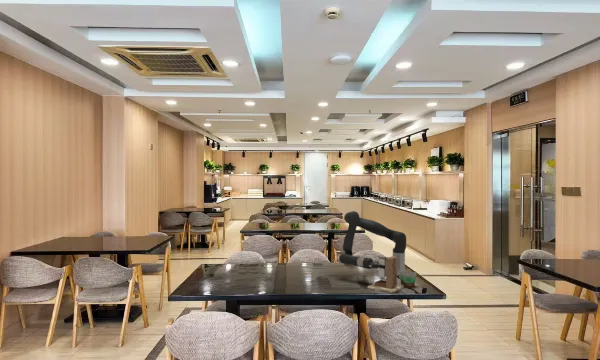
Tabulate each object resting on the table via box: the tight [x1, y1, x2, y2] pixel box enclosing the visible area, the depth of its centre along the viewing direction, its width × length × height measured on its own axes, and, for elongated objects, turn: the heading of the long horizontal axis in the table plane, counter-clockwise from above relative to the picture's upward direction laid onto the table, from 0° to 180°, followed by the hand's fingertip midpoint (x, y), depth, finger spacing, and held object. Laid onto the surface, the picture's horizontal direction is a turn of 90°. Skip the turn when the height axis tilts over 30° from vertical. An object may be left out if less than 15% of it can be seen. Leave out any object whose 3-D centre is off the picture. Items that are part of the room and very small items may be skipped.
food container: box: [399, 271, 417, 289], centre depth 260 cm, size 12×6×10 cm, turn 101°
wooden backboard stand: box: [366, 256, 405, 294], centre depth 257 cm, size 18×18×21 cm
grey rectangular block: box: [377, 255, 388, 278], centre depth 258 cm, size 5×5×13 cm
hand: (386, 266), depth 257 cm, fingers closed on grey rectangular block, 4 cm apart
